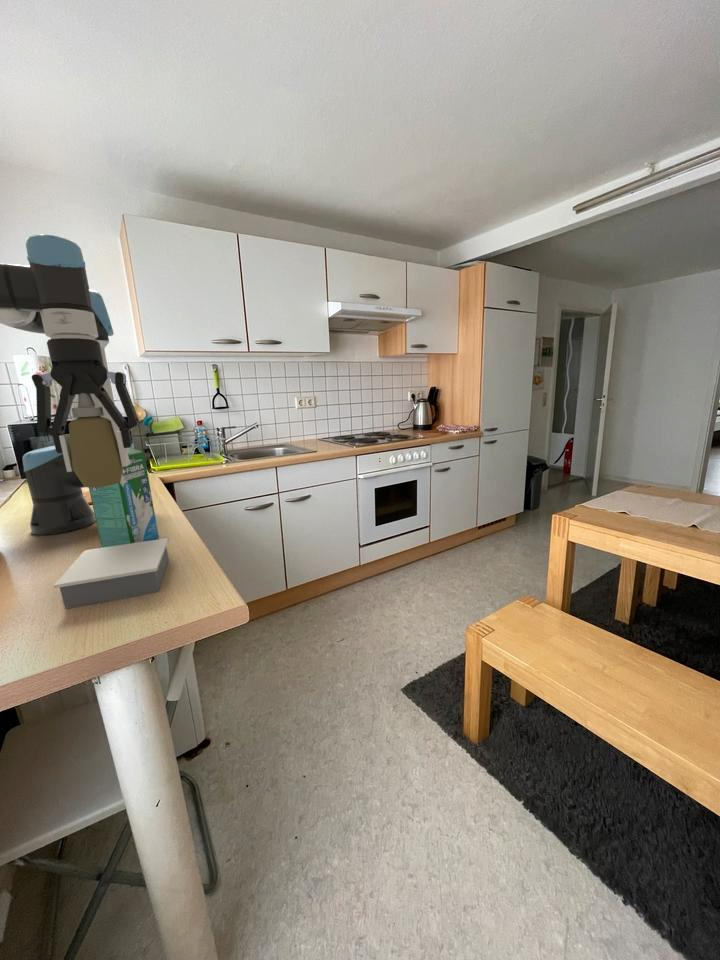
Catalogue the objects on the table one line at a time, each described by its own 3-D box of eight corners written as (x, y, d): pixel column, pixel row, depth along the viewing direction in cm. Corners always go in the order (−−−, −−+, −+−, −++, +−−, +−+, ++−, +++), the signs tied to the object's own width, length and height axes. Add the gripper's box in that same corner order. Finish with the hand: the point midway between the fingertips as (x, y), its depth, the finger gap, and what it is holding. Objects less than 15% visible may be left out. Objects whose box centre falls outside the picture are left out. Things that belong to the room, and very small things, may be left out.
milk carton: (133, 551, 93) (113, 448, 87) (101, 549, 95) (79, 448, 89) (159, 536, 102) (142, 442, 96) (129, 535, 104) (111, 442, 98)
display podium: (89, 571, 83) (84, 550, 82) (171, 558, 88) (167, 538, 87) (60, 610, 68) (54, 585, 67) (160, 592, 73) (156, 568, 72)
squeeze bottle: (109, 478, 78) (90, 387, 74) (137, 480, 75) (119, 385, 71) (66, 488, 71) (43, 387, 67) (95, 491, 68) (73, 386, 64)
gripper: (-14, 336, 60) (22, 478, 66) (136, 336, 67) (158, 465, 72) (10, 342, 67) (41, 470, 73) (144, 341, 74) (163, 459, 79)
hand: (99, 467), depth 72 cm, fingers closed on squeeze bottle, 8 cm apart
